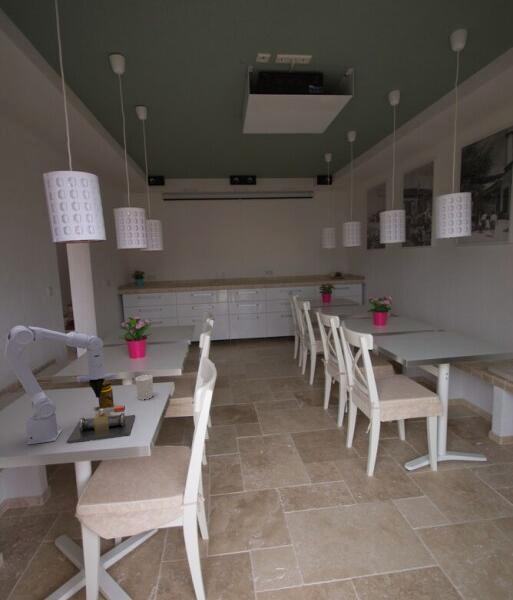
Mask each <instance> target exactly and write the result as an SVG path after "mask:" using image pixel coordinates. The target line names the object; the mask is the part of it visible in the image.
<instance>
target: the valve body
mask: <svg viewBox="0 0 513 600" xmlns="http://www.w3.org/2000/svg"><path fill="white" fill-rule="evenodd" d="M135 420H136V414H131V415H125V412H120V414H117V415H111V412H108V413H103V414H99V413H97V414H96V413H95V416H94V417H92V418H85V417H81V418H80V419H79V421H78V423H77V424H76V425H75V426H74V427H75V428H74V429H73V431H72V432H71V434H70V435H69V436H68V438H67V440H66V444H67V443H69V444H74V443H75V442H76V443H83V442H90V440H92V441H98V440H105V439H114V438H120V437H128V436H131V432H132V429H133V426H134V423H135Z"/></svg>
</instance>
